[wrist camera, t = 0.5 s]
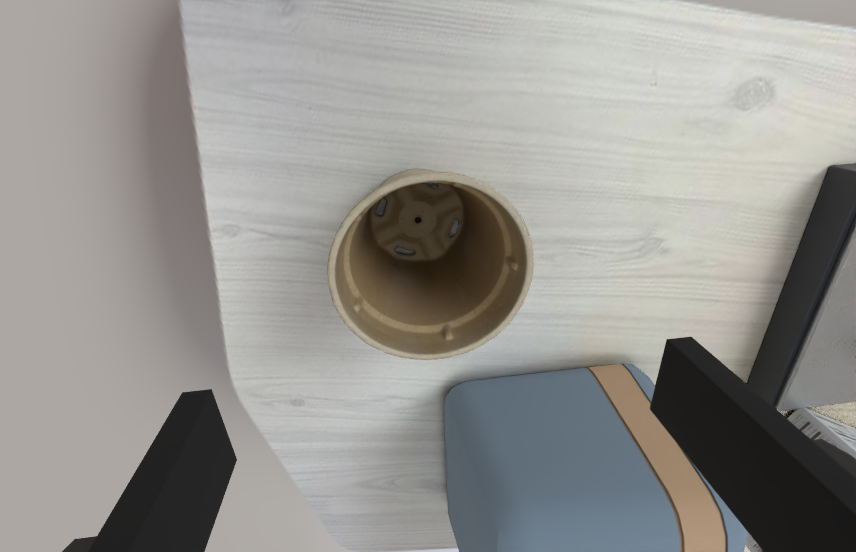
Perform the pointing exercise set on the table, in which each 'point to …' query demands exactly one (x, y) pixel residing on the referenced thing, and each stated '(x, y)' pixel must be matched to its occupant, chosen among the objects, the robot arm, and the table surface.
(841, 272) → the scale
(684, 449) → the robot arm
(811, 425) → the supplement box
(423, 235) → the flower pot
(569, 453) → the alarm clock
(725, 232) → the table surface
